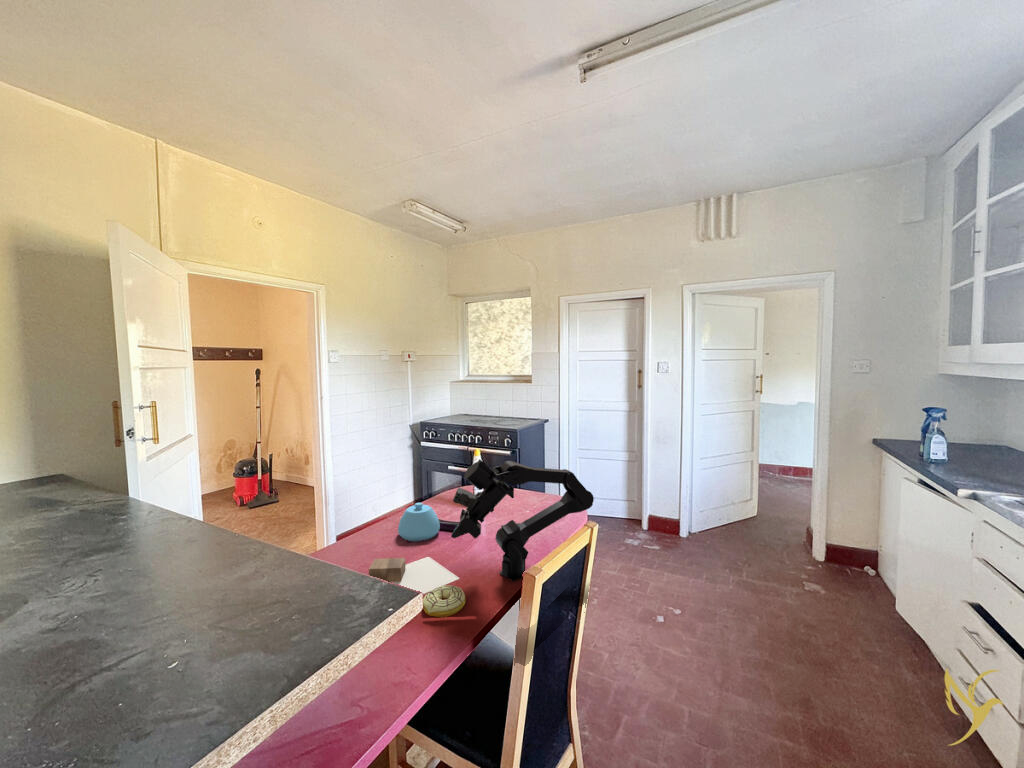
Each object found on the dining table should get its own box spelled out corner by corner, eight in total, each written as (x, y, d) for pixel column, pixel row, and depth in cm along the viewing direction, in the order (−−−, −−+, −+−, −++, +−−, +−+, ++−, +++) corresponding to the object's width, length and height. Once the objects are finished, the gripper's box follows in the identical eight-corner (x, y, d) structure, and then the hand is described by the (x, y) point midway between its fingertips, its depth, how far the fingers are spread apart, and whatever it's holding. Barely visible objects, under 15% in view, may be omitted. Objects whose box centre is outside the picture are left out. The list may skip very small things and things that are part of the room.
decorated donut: (420, 601, 106) (419, 587, 106) (459, 593, 110) (459, 579, 110) (426, 624, 96) (426, 609, 96) (469, 614, 100) (469, 600, 100)
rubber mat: (428, 558, 129) (428, 556, 129) (459, 580, 116) (459, 578, 116) (380, 575, 119) (380, 573, 119) (409, 602, 105) (409, 600, 105)
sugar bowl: (416, 547, 138) (415, 514, 137) (389, 536, 147) (389, 505, 146) (448, 532, 150) (447, 502, 149) (421, 523, 159) (421, 494, 158)
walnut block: (405, 557, 120) (374, 558, 120) (400, 567, 114) (368, 569, 114) (405, 570, 120) (375, 571, 120) (401, 581, 114) (369, 582, 114)
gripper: (471, 471, 125) (436, 507, 125) (467, 489, 107) (426, 531, 107) (497, 495, 126) (462, 531, 126) (497, 517, 107) (456, 559, 107)
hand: (452, 536), depth 116 cm, fingers closed
